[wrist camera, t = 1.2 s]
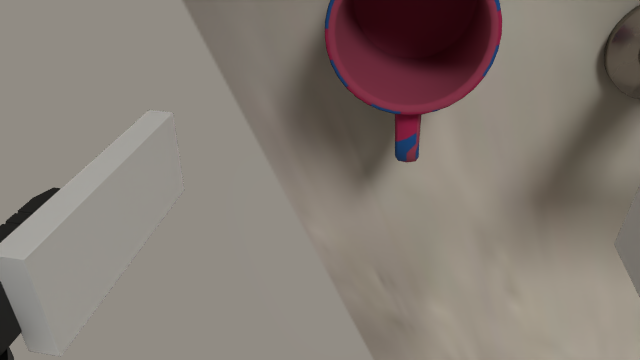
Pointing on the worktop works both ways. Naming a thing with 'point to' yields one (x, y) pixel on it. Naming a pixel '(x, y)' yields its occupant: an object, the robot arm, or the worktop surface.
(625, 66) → the rail
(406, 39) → the mug
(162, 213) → the robot arm
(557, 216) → the worktop surface
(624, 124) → the worktop surface
